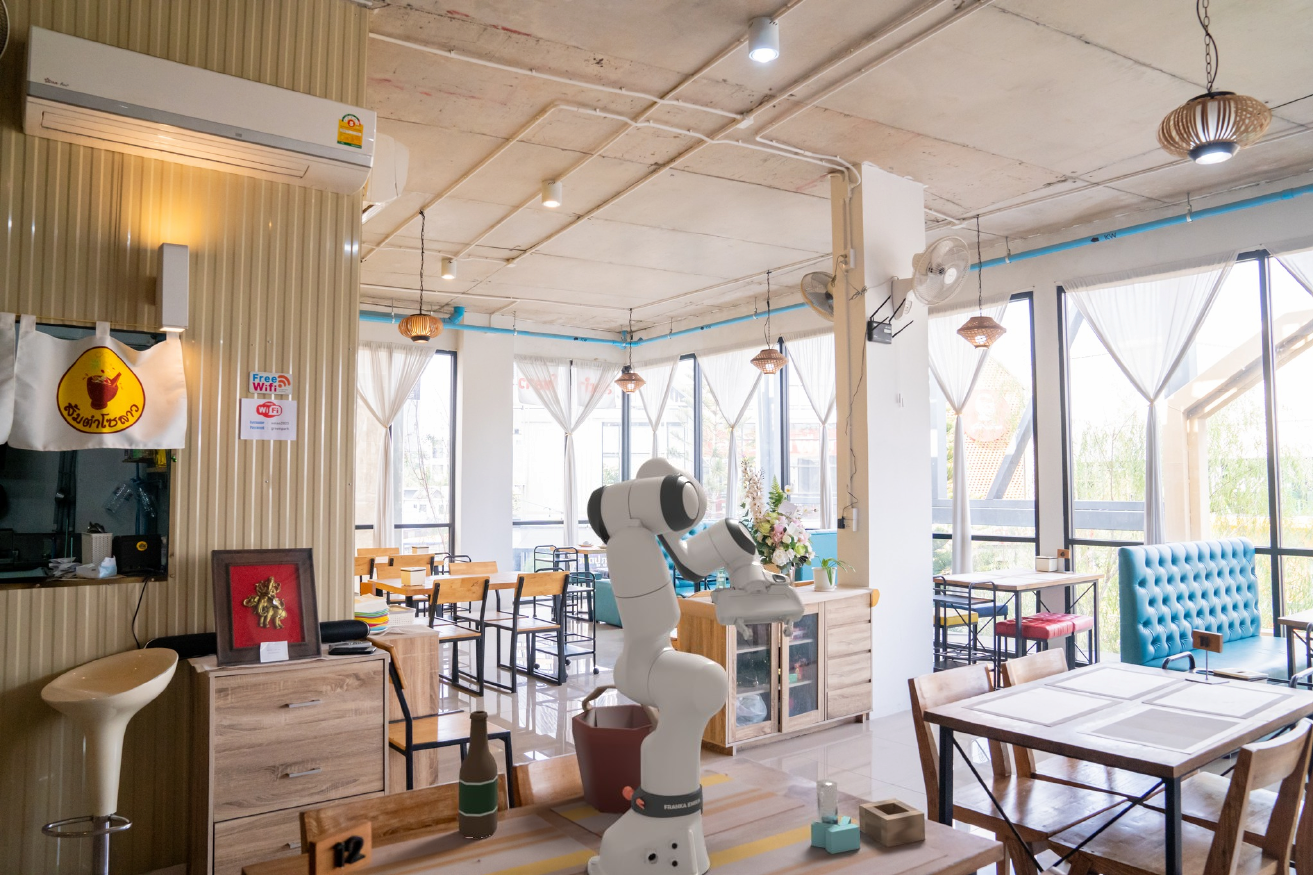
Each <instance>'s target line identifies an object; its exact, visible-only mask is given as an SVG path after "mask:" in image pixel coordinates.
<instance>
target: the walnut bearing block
mask: <svg viewBox="0 0 1313 875" xmlns="http://www.w3.org/2000/svg"><path fill="white" fill-rule="evenodd" d="M858 813H859V814H858V816H859V817H858V820H859V829H860V832H862V833H864V834H866V835H867V836H869V837H870V838H872V839H874V840H876V841H877V842H879V843H881V844H882V845H884V846H886V848H887V847H894V846H899V845H902V844H903V845H904V844H908V843H915V842H918V841H923V840H925V839H926V826H925V824H926V823H925V812H923V811H921V810H920V809H917V808H915V807H913V806H911V805H909V804H907V803H906V802H903V801H901V800H899V799H897V798H895V797H894V798H890V799H884V800H883V799H882V800H879V801H878V800H877V801H873V802H868V803H867V802H866V803H862V804H858Z"/></svg>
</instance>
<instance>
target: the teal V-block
mask: <svg viewBox="0 0 1313 875" xmlns="http://www.w3.org/2000/svg"><path fill="white" fill-rule="evenodd" d="M860 832H861V831H860V825H857V824H855V823H852V816H844V815H843V816H842V817H841V819H840V821H839V822H838V825H834V824H827V823H820V822H818V821H812V822H811V823H810V839H811V842H810V843H811V845H810V846H812V847H818V848H823V849H825V850H826V851H827V852H828V853H829V854H832V855H833V854H838V853H844V852H847V851H855V850H858V849H860V848H861V841H860V840H861V838H860V835H861V833H860Z"/></svg>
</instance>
